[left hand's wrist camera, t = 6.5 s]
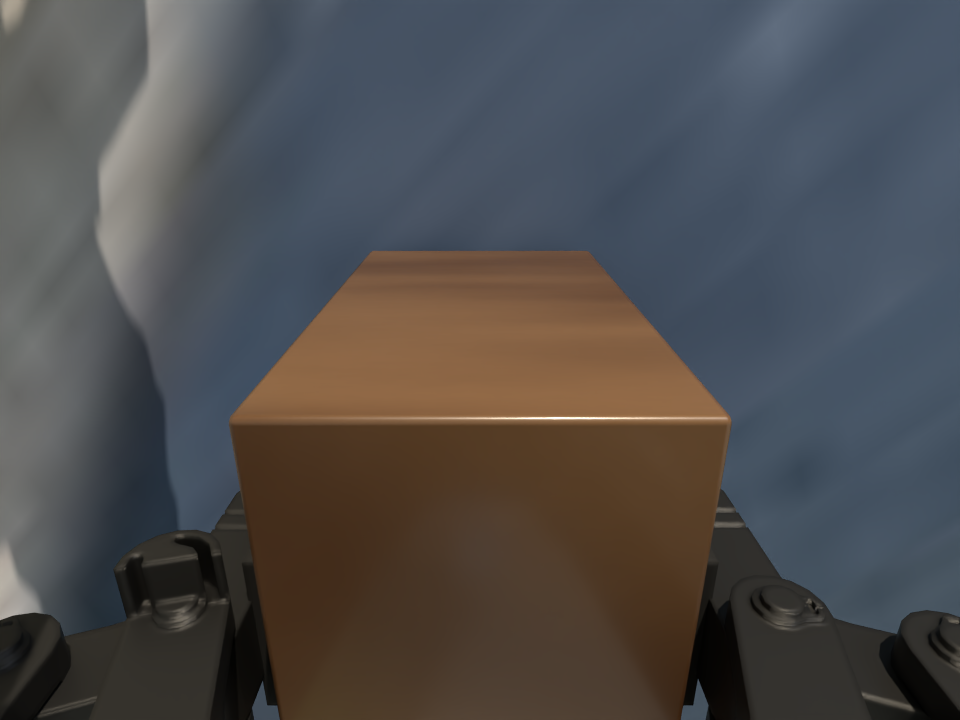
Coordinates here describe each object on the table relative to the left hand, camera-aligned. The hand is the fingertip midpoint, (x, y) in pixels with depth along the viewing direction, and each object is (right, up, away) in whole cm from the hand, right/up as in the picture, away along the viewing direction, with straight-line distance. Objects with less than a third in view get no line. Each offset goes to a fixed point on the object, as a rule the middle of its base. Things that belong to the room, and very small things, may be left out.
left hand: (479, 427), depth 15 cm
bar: (0, -21, +9) cm, 23 cm away
